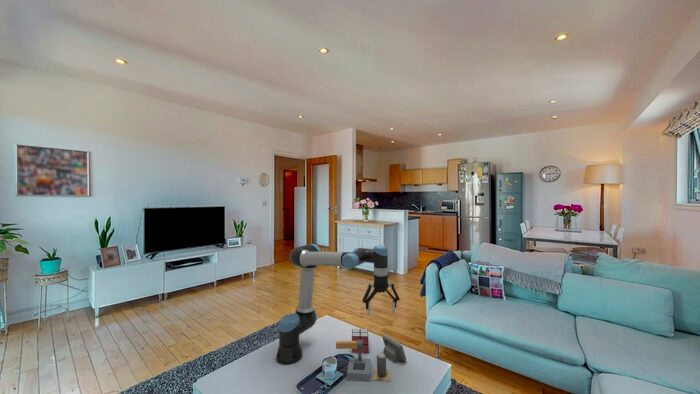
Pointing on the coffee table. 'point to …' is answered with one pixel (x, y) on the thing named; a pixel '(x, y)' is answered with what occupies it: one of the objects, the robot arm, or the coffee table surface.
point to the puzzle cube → (361, 335)
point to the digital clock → (393, 349)
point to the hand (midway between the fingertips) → (381, 314)
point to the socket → (359, 364)
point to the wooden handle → (349, 344)
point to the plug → (381, 365)
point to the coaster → (377, 378)
